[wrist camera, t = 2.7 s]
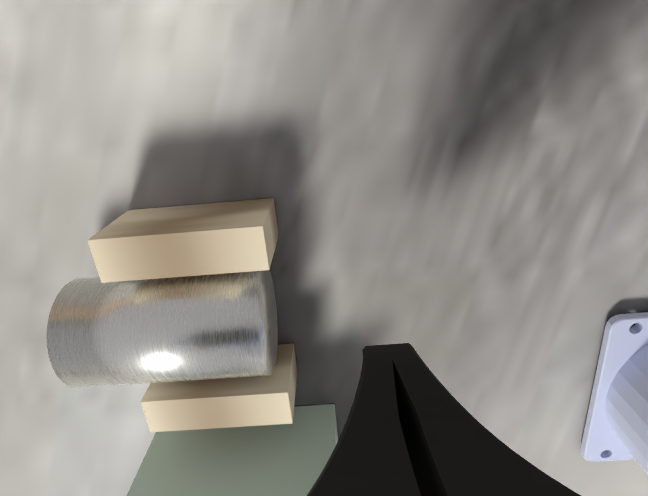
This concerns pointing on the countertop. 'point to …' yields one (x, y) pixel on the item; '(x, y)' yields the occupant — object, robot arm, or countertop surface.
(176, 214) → the beige blocks
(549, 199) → the countertop surface
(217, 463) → the v block
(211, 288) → the axle
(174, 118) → the countertop surface
